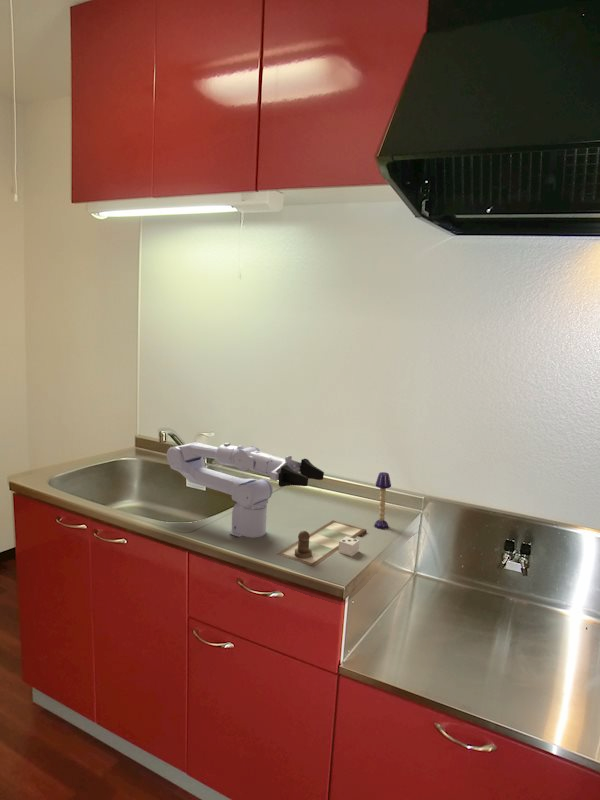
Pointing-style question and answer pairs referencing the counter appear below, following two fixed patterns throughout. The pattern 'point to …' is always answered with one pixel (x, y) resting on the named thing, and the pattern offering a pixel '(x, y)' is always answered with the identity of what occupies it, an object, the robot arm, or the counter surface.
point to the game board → (324, 542)
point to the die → (348, 546)
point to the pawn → (303, 545)
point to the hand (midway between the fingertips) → (315, 478)
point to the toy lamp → (382, 498)
